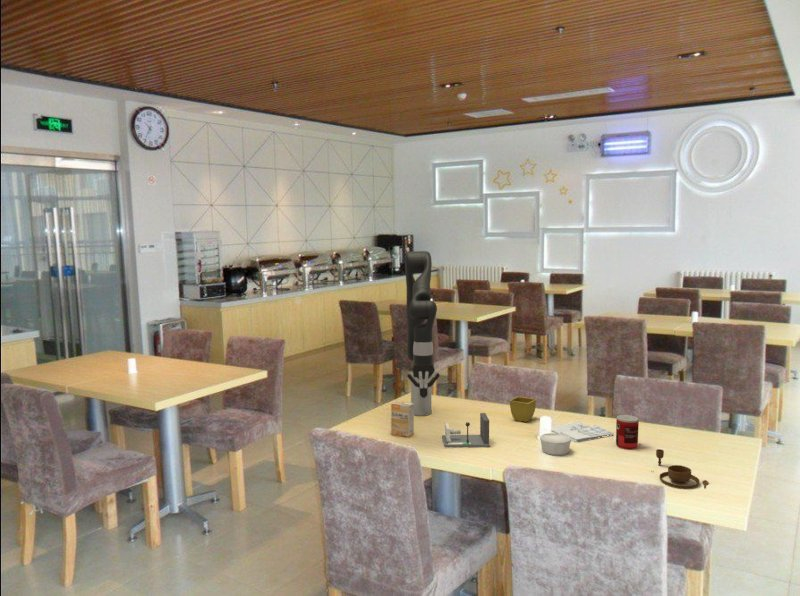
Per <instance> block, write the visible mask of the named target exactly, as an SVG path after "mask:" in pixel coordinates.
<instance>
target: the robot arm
mask: <svg viewBox="0 0 800 596" xmlns="http://www.w3.org/2000/svg"><path fill="white" fill-rule="evenodd" d="M432 263H433V262H432V255H431V253H430V252H429V251H427V250H426V251H425V250H418V251H417V250H415V251H413V250H412V251H407V252H406V253H405V254H404V273H405V285H406V321H407V323H406V324H407V338H406V339H407V341H406V342H407V343H406V354H407V358H408V359H407V360H409V361H413V363H412V364H413V367H412V368H411V369H410V371H409V372H407V374H406V376H407V378H408V379H409V380H410V403H414V416H421V417H423V416H429V415H431V414H432V410H433V409H432V386H433V385H434V384H435V383H436V382H437V380H438V379H439V378H440V376H441V375H440V373H439V372H438V371H436V369H435V367H434V345H433V328H434V322H435V319H436V315H437V312H438V307H437V306H438V305H437V304H436V302H435V301H434V300H431V299H432V294H431V280H432V268H433V267H432ZM414 274H415V275H416V274H420V275H419V276H418V277H417V278H416V279H415V277H414ZM425 321H426V322H425ZM432 376H433V377H432Z"/></svg>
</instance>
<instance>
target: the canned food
mask: <svg viewBox="0 0 800 596" xmlns="http://www.w3.org/2000/svg"><path fill="white" fill-rule="evenodd" d="M615 422H616V425H615V428H616V429H615V444H616V446H617V448H620V449H622V448H623V450H637V449H638V446H639V424H640V423H639V418H638V417H636V416H634V415H630V414H619V415H617V416H616V421H615Z"/></svg>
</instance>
